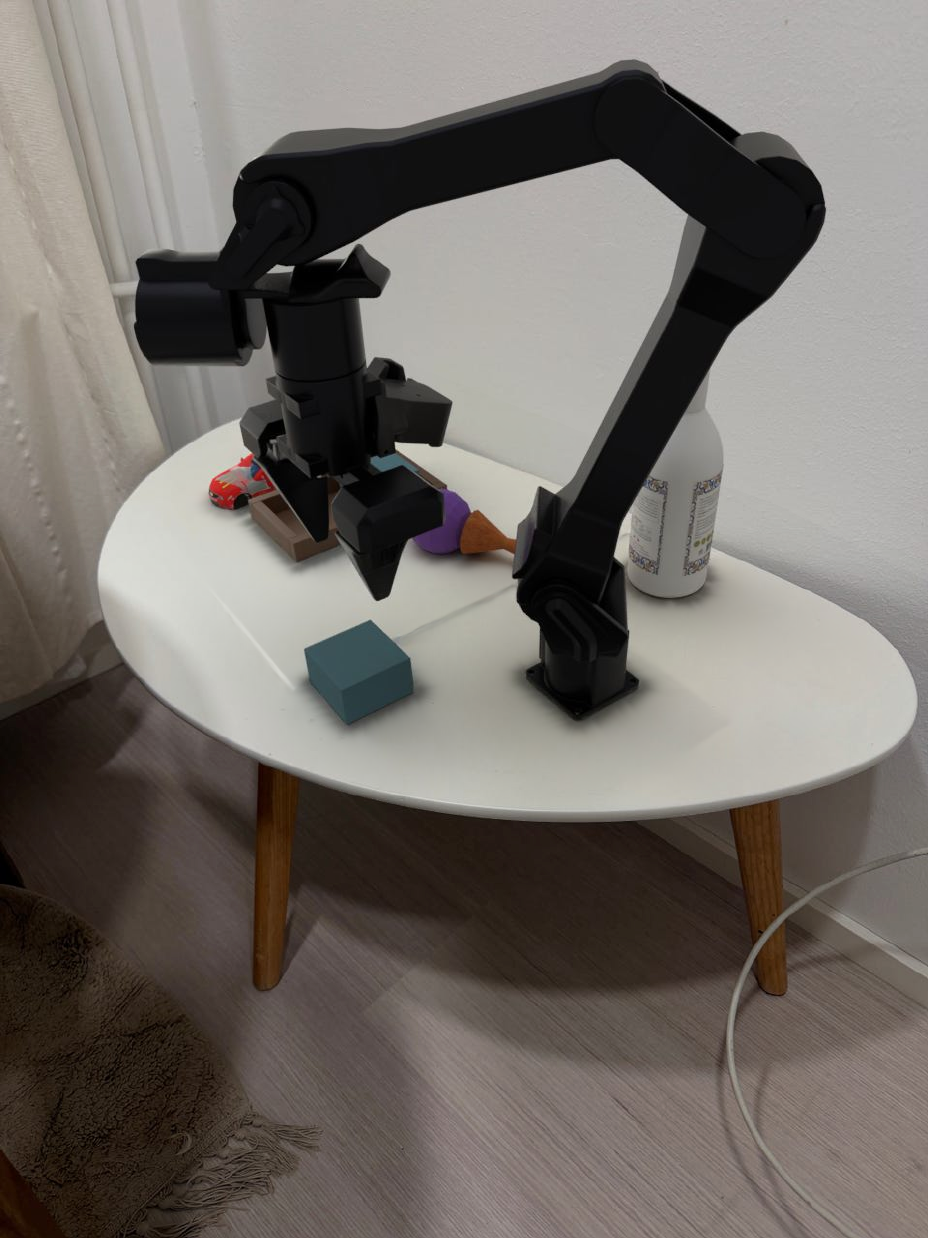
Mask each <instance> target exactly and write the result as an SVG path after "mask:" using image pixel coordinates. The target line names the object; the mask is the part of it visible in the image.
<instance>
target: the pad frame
mask: <svg viewBox="0 0 928 1238" xmlns="http://www.w3.org/2000/svg"><path fill="white" fill-rule="evenodd" d="M396 454H397V455H399V456H400V457H401V458H403V459H404V460H406V461H407V462H408V463H410V464H411V465H413V466H414V467H415V468H417V469H418V470H419V476H421V477H422V478H423V479H425V480H426V481H427V482H429V483H430V484H431V485H433V486H434V487H435V488H437V489H446V490H448V484H446V483H445V482H443V481H442V480H440V479H439V478H438V477H436V476H435V475H434V474H432V473H430V472H429V471H428V470H426V469H425V468H424V467H422V466H421V465H419V464H417V462H415V461H413V460H412V459H410V457H407V456H406V455H405V454H404V453H402V452H400V451H399V450H398V449H396ZM339 490H340V484H339V482H337V481H336V480H335V479H334V478H333V477H332V476H328V498H329V537H328V539H327V540H325V541H322V542H320V543H316V542H315V541H314V540H313V539H312V537H311V536H310V535H309V533H308V532H307V530H306V529H305V528H304V526H303V525H302V523H301V522H300V521H299V519H298V518H297V516H296V515H295V514H294V512H293V511H292V509H291V508H290V507H289V505H288V504H287V503H286V501H285V500H284V499H283V497H282V496H281V494H280V493H279V492H278V490H275V491H272V492H269V493H266V494H263V495H260V496H257V497H255V498H252V499H249V500H248V503H249V505H248V508H249V513H250V518H251V519H252V520H253V521H254V522H255V523H256V524H257V525H258V526H259V527H260V528H261V529H262V530H263V531H264V532H265V533H266V534H267V535H268V536H269V537H270V538H271V539H272V540H273V541H274V542H275V543H277V545H278V546H279V547H280V548H281V549H282V550H283V551H284V552H285V553H286V554H287V555H288V556H289V557H290V558H291V559H292V560H293V561H295V563H299V562H301V561H304V560H307V559H309V558H312V557H314V556H317V555H319V554H322V553H326V552H328V551H330V550H332V549H335V548H338V547H339V546H342V545H341V544H340V542H339V540H338V539H337V537H336V535H335V532H336V531H338V528H337V526H336V524H335V522H334V520H333V516H332V509H331V503H332V501H333V499H334V498H335V496H336V495H337V493H338V492H339Z"/></svg>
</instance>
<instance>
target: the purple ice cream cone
mask: <svg viewBox="0 0 928 1238" xmlns="http://www.w3.org/2000/svg"><path fill="white" fill-rule="evenodd" d="M438 490H439V491H441V492H442V493H443V494H444V502H445V517H446V519H445V522H444V525H443V526H441V527H438V528H436V529H433V530H431V531H428V532H426V533H423V534H421V535H418V536H416V537H413V538H411V539H412V541H413V542H414V543H415V544H416V545H417V546H418V547H420V548H421V549H422V550H424V551H426V552H429V553H431V554H435V555H443V554H450V553H452V552H454V551H456V550H458V549H460V552H461V554H463V555H469V554H476V553H477V554H478V553H484V552H492V551H501V550H504V551H507V552H508V553H511V554H512V555H514V554H515V545H516V538H511V537H507V535H505V534H504V532H502V531H501V530H500V529H499V528H498V527H497V526H496V525H495V524H494V523H493V522H492V521H491V520H490V519H489V518H488V517H487V516H486V515H484V514H483V513H482V512H481V511H480V510H479V509H475V510H473V511H471V508H470V506H469V504H468V502H467V501H466V500H465V499H463V497H461V496H460V495H459V494H458V493H456V492H455V491H452V490H449V489H447V490H446V489H438Z"/></svg>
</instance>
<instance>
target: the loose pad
mask: <svg viewBox="0 0 928 1238" xmlns="http://www.w3.org/2000/svg"><path fill="white" fill-rule="evenodd" d="M303 651H304V658H305V662H306V668H307V673H308V679H309V683H310V684H311V685H312V686H313V687H314V689H315V690H316V691H317V692H318V693H319V694H320V696H321V697H322V698H323V699H324V700H325V701H326V702H327V704H328V705H329V706H330V707H331V709H332V710H333V711H335V713H336V714H337V715H338V717H340V718H341V720H343V722H344V723H345V725H350V724H351V723H353V722H356V721H357V720H359V719H361V718H364V717H365V716H367V715H369V714H372V713H373V712H376V711H378V710H379V709H382V708H384V707H386V706H388V705H390V704H392V703H394V702H396V701H398V700H400V699H402V698H405V697H406V696H408V695H411V694H412V693H414V692H415V691H414V681H413V669H412V661H411V657H410V656H409V655H408V654H407V653H406V652H405V651H404V650H403V649H402V648H401V647H400V646H398V644H396V642H394V640H393V639H391V638H390V637H389V636H388V635H387V634H386V633H385V632H384V631H383V630H382V629H381V628H380V627H379V626H378V625H377V624H376V623H375V622H374V621H373V620H372V619H368V620H366V621H364V622H361V623H359V624H357V625H355V626H352V627H350V628H348V629H345V630H343V631H341V632H339V633H336V634H334V635H332V636H330V637H328V638H325V639H323V640H321V641H319V642H316V643H314V644H312V645H309V646H307V647H305V648H303Z"/></svg>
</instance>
